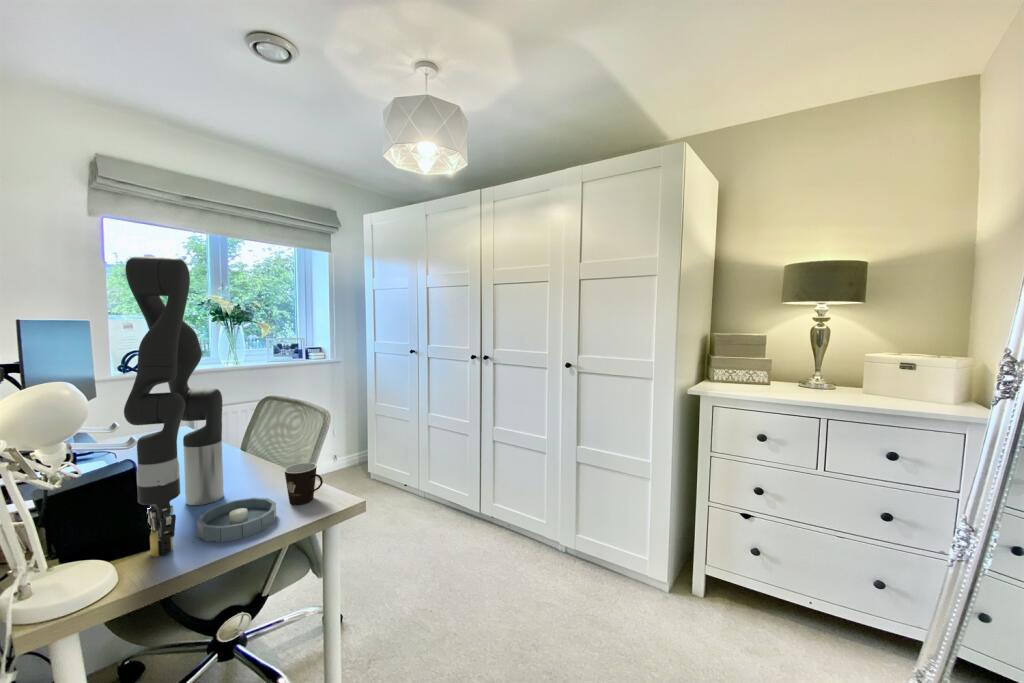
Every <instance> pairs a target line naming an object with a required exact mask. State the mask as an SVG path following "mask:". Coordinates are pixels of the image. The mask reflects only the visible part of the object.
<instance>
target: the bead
mask: <svg viewBox="0 0 1024 683" xmlns="http://www.w3.org/2000/svg"><path fill="white" fill-rule="evenodd" d="M167 532H168V531H166V532H164V533H167ZM173 538H174V537H171V550H172V549H173V550H174V542H173ZM149 546H150V547H149V549H150V557H160V556H159V555H158V540H157V532H156V531H155V532H153V533H151V532H150V534H149ZM173 550H172V551H173Z"/></svg>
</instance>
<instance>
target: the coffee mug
mask: <svg viewBox="0 0 1024 683" xmlns="http://www.w3.org/2000/svg"><path fill="white" fill-rule="evenodd" d="M317 467H318V466H317V464H316V463H314V462H299V463H294V464H292V465H289V466H287V467H285V468H284V470H283V471H284V476H285V477H284V478H285V482H286V488H287V495H288V501H289V505H292V506H302V504H303V505H306V503H307V504H309V503H311V502H313V500H314V496H315V492H316V491H318V490H319V489H320V488H321V487H322V485H323V482H324V481H323V478H322V476H321V475H320V474H318V473H317ZM316 478H318V479H319V481H320V482H319V485H318V486H317V487H316ZM315 487H316V488H315ZM310 501H311V502H310Z"/></svg>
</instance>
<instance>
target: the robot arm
mask: <svg viewBox="0 0 1024 683" xmlns="http://www.w3.org/2000/svg"><path fill="white" fill-rule="evenodd" d="M188 267H189V266H188V265H187V263H186V262H185V261H184V260H183V259H181V258H177V257H165V256H163V257H161V256H134V257H130V258H129V259H128V260H127V261H126V263H125V270H124V271H125V277H126V280H127V283H128V286H129V289H130V291H131V293H132V295H133V297H134V300H135V301H136V303H137V305H138V308H139V309H140V311H141V313H142V315H143V318H144V320H145V322H146V325H147V326H148V331H147V332H146V333H145V335H143V338H142V339H141V342H140V344H139V346H138V351H137V352H138V353H137V370H136V376H135V380H134V382H133V386H132V388H131V391H130V393H129V395H128V397H127V399H126V402H125V404H124V408H123V415H124V418H125V420H126V421H127V423H128V424H130V425H133V426H145V425H146V426H147V425H160V424H163V428H162V430H160V431H157V432H152V433H148V434H145V435H142V436H141V437H139V438H138V439H137V442H136V454H137V469H136V488H137V503H138V504H140V505H142V506H145V505H149V506H150V508H147V512H146V515H147V514H148V519H147V524H148V523H149V525H150V526H151V528H150V529H151V532H150V534H151V533H153V532H155V531H156V532H157V540H158V555H159V556H158V557H163V556H166V555H168V554H170V553H171V552H172V551H171V537H172V538H174V537H175V531H176V519H177V516H176V514H175V513H174V506H173V504H172V505H171V501H173V500H174V499H176V498H177V497H178V496H180V494H181V481H180V480H181V479H180V476H181V475H180V462H179V458H178V434H179V430H180V426H181V423H182V421H184V422H195V421H196V422H197V421H205V425H204V426H202V427H200V428H198V429H196V430H194V431H190V432H188V433H186V434H185V435H183V438H182V445H183V466H184V472H183V473H184V496H185V504H186V505H188V506H201V505H207V504H210V503H214V502H216V501H219V500H220V499H222V498H223V497H224V495H225V492H224V468H223V467H224V465H223V464H224V463H223V461H224V460H223V437H222V436H223V434H222V433H223V395H222V393H221V391H220V389H218V388H200V389H199V388H197V389H196V388H193V389H192V388H190V387H189V384H188V381H189V379H190V377H191V376H192V374H193V373H194V372H195V370H196V368H197V367H198V365H199V363H200V361H201V359H202V356H203V353H202V352H203V351H202V348H201V345H200V341H199V337H198V334H197V333H196V331H195V330H194V328H193V327H191V325H189V324H188V323H187V322H185V321H184V316H185V311H186V306H187V302H188V296H189V292H190V291H189V290H190V286H191V285H190V284H191V276H190V271H189V268H188ZM161 297H167V301H166V304H165V303H164V301H163V300H162V298H161ZM166 383H168V384H167V385H168V388H169V392H156V393H155V392H154V393H153V392H152V393H151V391H152V390H153V389H154V387H155V386H158V385H161V384H166ZM166 531H168V532H167V533H164V532H166Z"/></svg>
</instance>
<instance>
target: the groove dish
mask: <svg viewBox="0 0 1024 683" xmlns="http://www.w3.org/2000/svg"><path fill="white" fill-rule="evenodd" d="M276 518H277V503H276V502H275V501H274V500H272V499H271V498H267V497H249V498H248V497H247V498H240V499H236V500H232V501H228V502H225V503H222V504H217V505H216V506H213V507H212V508H210V509H208V510H206V511H204V512H203V513H202V514H201V515H200V517H199V518H198V519H197V522H196V523H197V536H198V535H199V536H200V537H199V536H198V537H199V538H201V539H202V540H203V541H204V540H205V541H204V542H212V541H216V542H215V543H223V542H224V543H225V542H229V541H235V540H241V539H246V538H247V537H250V536H253V535H255V534H258V533H261V532H263V531H264V530H266V529H267V528H268V527H271V525H273V524H274V523H275V520H276Z"/></svg>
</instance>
